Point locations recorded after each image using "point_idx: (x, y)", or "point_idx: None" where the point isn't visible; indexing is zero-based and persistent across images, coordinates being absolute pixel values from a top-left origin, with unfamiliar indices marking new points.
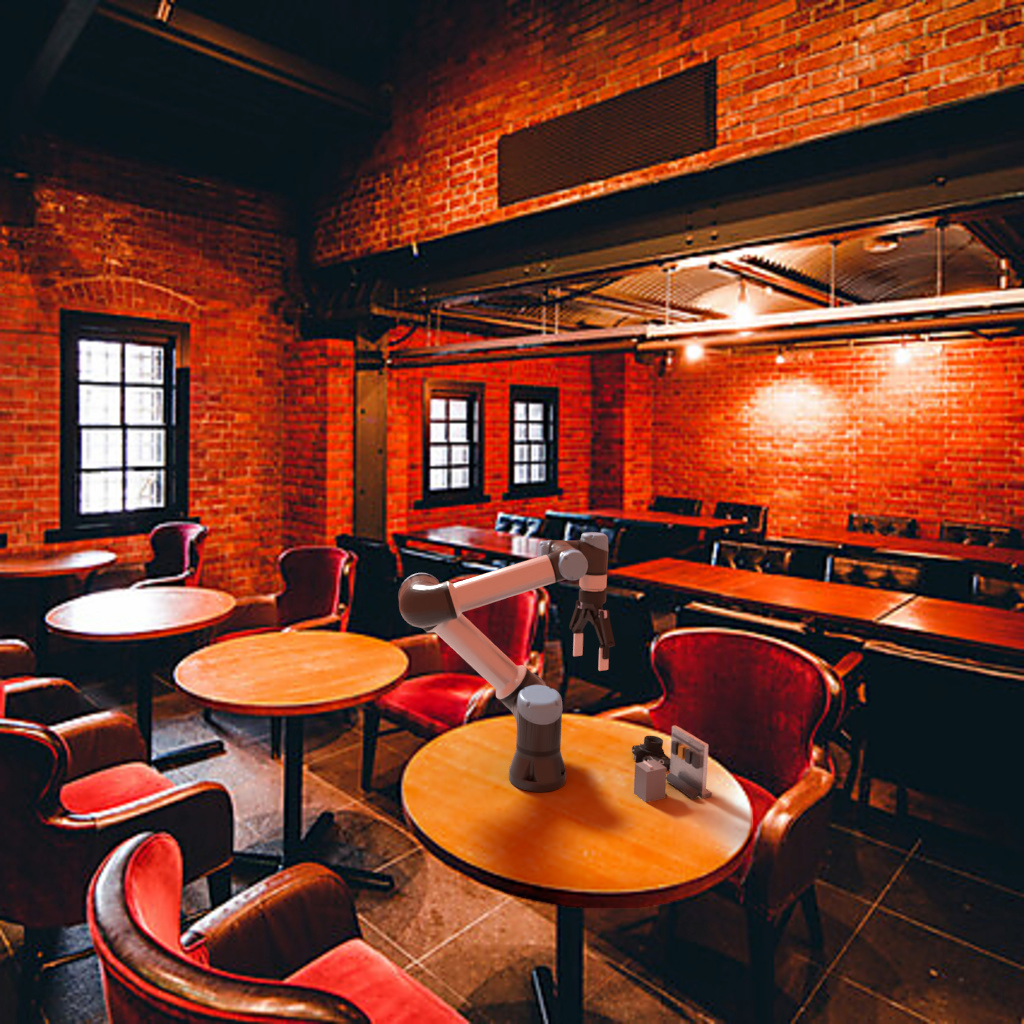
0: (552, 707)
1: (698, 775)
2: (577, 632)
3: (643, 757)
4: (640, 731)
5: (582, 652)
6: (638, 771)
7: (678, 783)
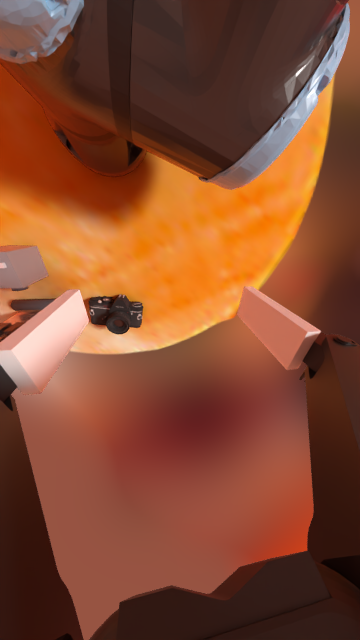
0: None
1: (11, 321)
2: (313, 352)
3: (108, 301)
4: (184, 334)
5: (241, 319)
6: (1, 250)
7: (37, 302)
